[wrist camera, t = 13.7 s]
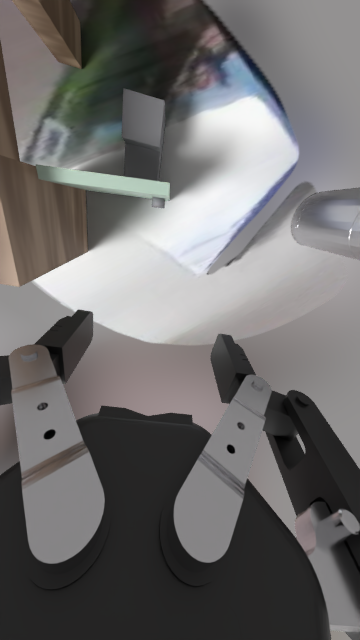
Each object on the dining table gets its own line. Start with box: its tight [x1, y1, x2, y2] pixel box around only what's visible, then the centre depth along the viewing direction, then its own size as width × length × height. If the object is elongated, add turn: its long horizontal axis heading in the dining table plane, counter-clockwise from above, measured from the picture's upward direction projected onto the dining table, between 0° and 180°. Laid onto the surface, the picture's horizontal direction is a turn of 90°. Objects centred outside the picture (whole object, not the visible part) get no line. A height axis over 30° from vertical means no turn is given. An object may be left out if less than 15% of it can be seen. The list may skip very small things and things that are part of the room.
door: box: [36, 165, 170, 208], centre depth 27 cm, size 2×14×15 cm, turn 84°
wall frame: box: [0, 0, 88, 287], centre depth 23 cm, size 3×28×20 cm, turn 169°
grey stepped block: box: [122, 88, 166, 181], centre depth 29 cm, size 5×9×6 cm, turn 169°
